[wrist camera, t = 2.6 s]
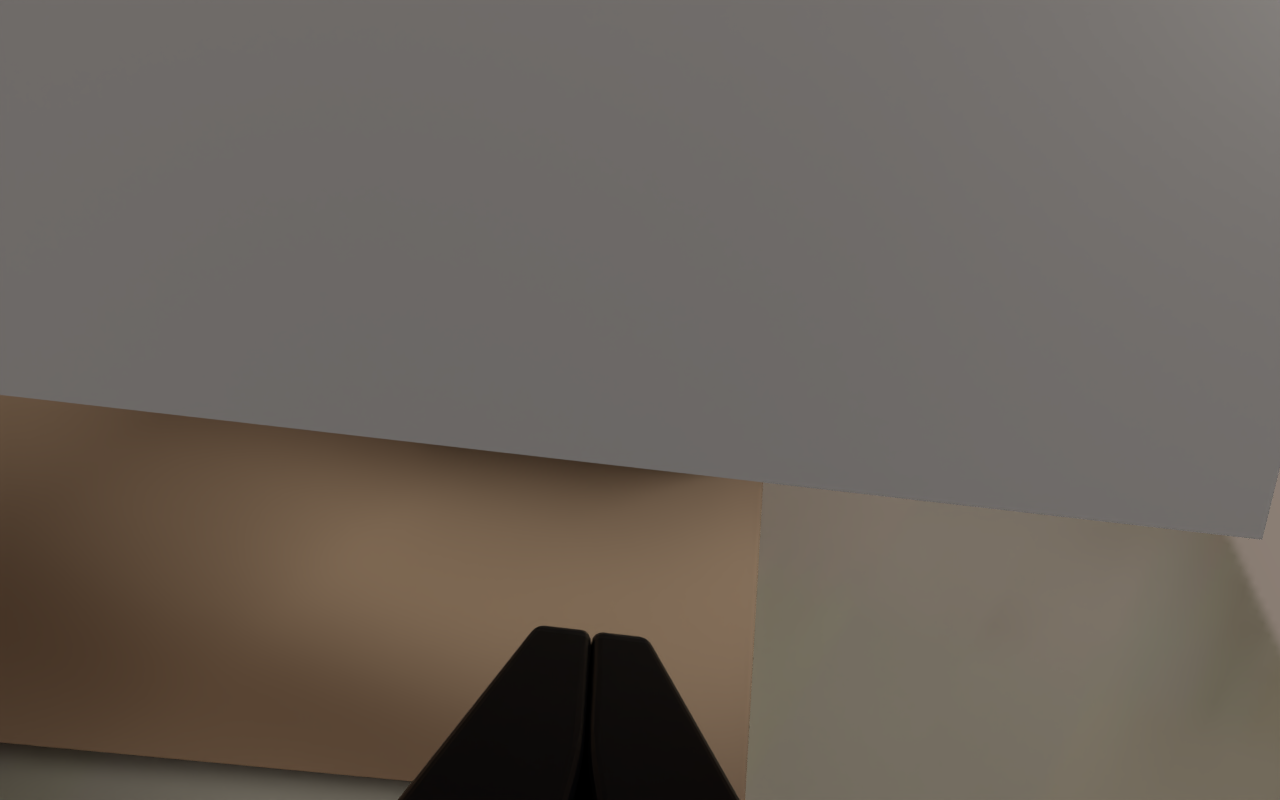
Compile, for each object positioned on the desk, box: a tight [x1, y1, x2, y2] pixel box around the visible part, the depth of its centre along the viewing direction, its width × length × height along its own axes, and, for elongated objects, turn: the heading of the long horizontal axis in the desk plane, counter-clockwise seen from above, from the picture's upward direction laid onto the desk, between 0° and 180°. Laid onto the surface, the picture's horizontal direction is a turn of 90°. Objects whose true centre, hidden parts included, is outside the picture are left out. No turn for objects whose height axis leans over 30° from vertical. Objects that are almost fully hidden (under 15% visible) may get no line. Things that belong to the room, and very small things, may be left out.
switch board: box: [0, 395, 763, 800], centre depth 15 cm, size 14×20×4 cm
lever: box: [0, 0, 1280, 539], centre depth 8 cm, size 2×4×11 cm, turn 83°
